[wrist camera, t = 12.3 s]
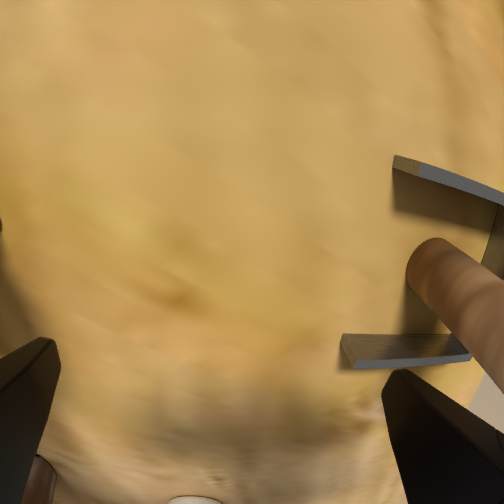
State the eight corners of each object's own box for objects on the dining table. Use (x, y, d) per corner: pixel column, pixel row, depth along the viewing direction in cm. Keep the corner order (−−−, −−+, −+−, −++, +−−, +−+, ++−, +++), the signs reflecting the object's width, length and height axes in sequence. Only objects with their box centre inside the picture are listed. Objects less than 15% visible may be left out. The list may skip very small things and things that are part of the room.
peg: (424, 302, 22) (533, 434, 9) (395, 272, 21) (523, 421, 8) (461, 260, 21) (588, 370, 8) (435, 225, 20) (590, 340, 7)
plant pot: (42, 436, 26) (5, 549, 11) (87, 495, 32) (72, 581, 17) (-44, 406, 24) (-87, 489, 10) (6, 470, 31) (-18, 541, 16)
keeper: (340, 342, 23) (367, 400, 17) (395, 154, 18) (455, 172, 12) (456, 340, 24) (491, 382, 19) (511, 196, 19) (563, 221, 14)
